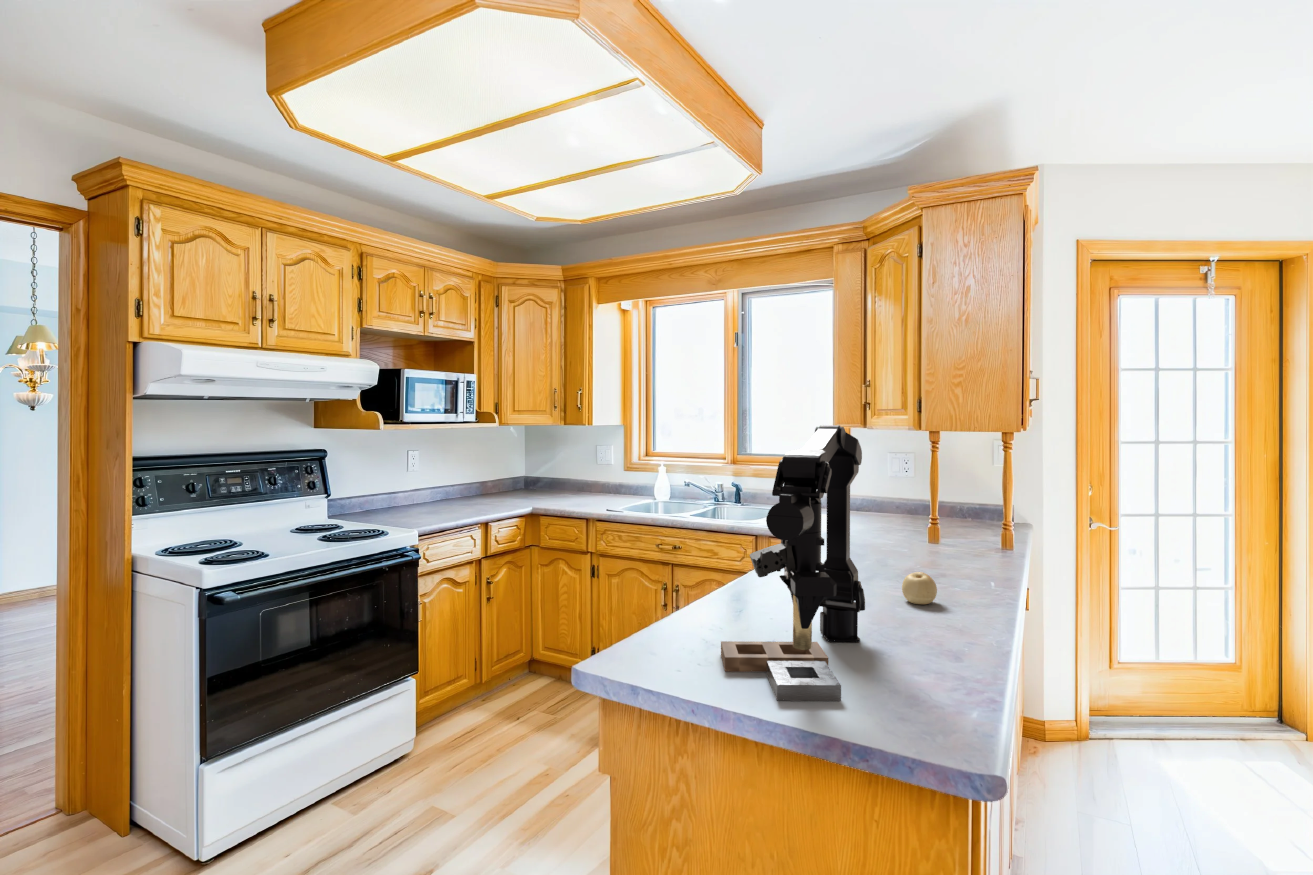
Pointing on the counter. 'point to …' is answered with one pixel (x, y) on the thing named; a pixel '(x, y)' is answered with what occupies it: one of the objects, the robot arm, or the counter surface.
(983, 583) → the counter surface
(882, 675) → the counter surface
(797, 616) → the peg
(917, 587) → the apple
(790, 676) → the socket block
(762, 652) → the rack
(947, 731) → the counter surface
